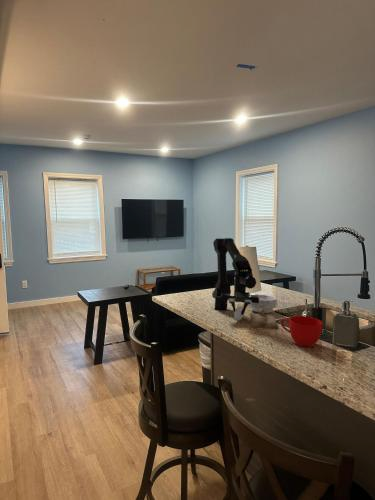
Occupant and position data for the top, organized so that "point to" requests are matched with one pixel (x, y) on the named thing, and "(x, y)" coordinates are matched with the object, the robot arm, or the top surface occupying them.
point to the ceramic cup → (304, 330)
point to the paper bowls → (264, 304)
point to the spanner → (238, 313)
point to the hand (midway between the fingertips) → (238, 314)
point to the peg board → (259, 321)
